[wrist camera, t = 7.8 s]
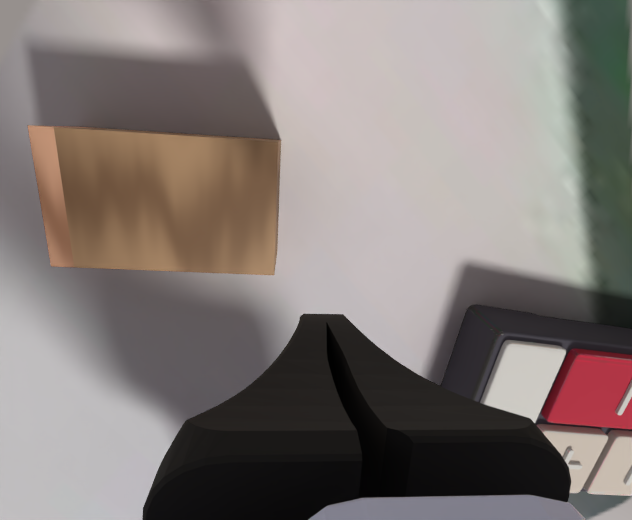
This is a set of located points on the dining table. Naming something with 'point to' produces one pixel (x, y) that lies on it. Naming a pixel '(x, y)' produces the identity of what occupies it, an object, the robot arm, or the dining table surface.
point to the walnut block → (158, 199)
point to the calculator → (554, 386)
